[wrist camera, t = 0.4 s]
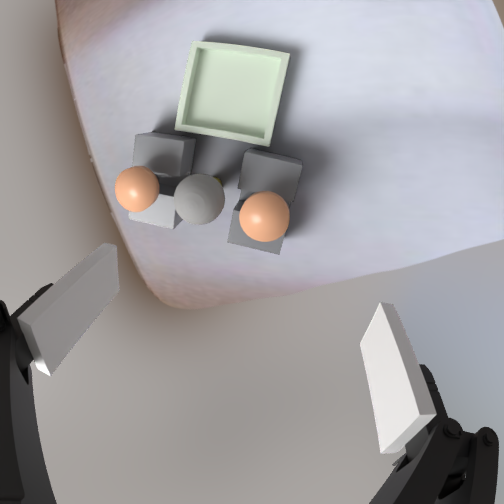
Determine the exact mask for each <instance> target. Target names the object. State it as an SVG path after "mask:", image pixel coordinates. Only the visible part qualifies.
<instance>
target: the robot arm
mask: <svg viewBox="0 0 504 504" xmlns="http://www.w3.org/2000/svg"><path fill="white" fill-rule="evenodd" d="M118 292H119V280H118V266H117V246H116V245H112V244H108V243H103V244H102V245H101V246H99V247H98V248H97V249H96V250H94V251H93V252H92V253H91V254H90V255H88V256H87V257H86V258H84V259H83V260H82V261H81V262H80V263H78V264H77V265H76V266H75V267H74V268H73V269H71V270H70V271H69V272H68V273H67V274H65V275H64V276H63V277H62V278H61V279H59V280H58V281H57V282H56V283H55V284H52V283H50V284H48V285H46V286H44V287H42V288H41V289H40V290H38V291H37V292H36V293H35V295H33V296H32V297H31V298H29V300H27V301H26V302H25V303H24V304H23V305H22V306H21V307H20V308H18V309H17V310H16V311H15V312H14V313H13V314H12V315H11V316H9V313H8V310H7V307H6V304H5V303H4V302H3V301H2V300H0V504H57V503H56V500H55V497H54V494H53V491H52V488H51V484H50V481H49V477H48V473H47V470H46V465H45V462H44V457H43V452H42V448H41V443H40V438H39V432H38V426H37V420H36V413H35V405H34V396H33V385H32V371H31V367H30V363H31V362H32V361H33V360H34V362H35V364H36V366H37V368H38V369H39V370H40V371H42V372H44V373H46V374H48V375H50V376H51V375H52V374H53V372H54V371H55V370H56V368H57V367H58V366H59V365H60V363H61V362H62V360H63V359H64V358H65V357H66V355H67V354H68V353H69V352H70V350H71V349H72V348H73V346H74V345H75V344H76V343H77V341H78V340H79V339H80V338H81V336H82V335H83V334H84V333H85V332H86V330H87V329H88V328H89V327H90V325H91V324H92V323H93V322H94V320H95V319H96V318H97V317H98V316H99V315H100V313H101V312H102V311H103V310H104V308H105V307H106V306H107V305H108V304H109V303H110V302H111V300H112V299H113V298H114V297H115V296H116V295H117V294H118ZM360 347H361V351H362V355H363V360H364V364H365V369H366V373H367V378H368V383H369V388H370V393H371V398H372V403H373V409H374V414H375V420H376V426H377V432H378V439H379V445H380V452H381V454H382V453H397V452H398V451H399V450H400V449H401V448H403V447H404V446H405V447H406V453H405V454H404V455H403V456H402V457H400V458H399V459H398V460H397V461H396V462H395V463H394V464H393V466H395V465H396V464H397V463H398V464H397V466H396V467H395V468H394V470H393V471H392V473H391V474H390V476H389V477H388V479H387V480H386V482H385V483H384V484H383V486H382V487H381V488H380V490H379V491H378V492H377V494H376V495H375V496H374V498H373V499H372V500H371V502H370V503H369V504H494V502H495V494H496V485H497V474H498V456H499V441H498V437H497V435H496V433H495V432H494V431H493V430H492V429H491V428H489V427H483V428H481V429H480V430H479V431H478V432H476V433H475V434H474V433H469V432H465V431H463V429H462V427H461V426H460V424H459V423H458V422H457V421H456V420H454V419H452V418H448V416H447V413H446V410H445V407H444V405H443V402H442V399H441V396H440V393H439V392H438V388H437V386H436V384H435V380H434V378H433V375H432V373H431V372H430V371H429V369H428V368H427V367H426V366H425V365H422V364H421V365H420V364H418V361H417V358H416V356H415V353H414V351H413V348H412V346H411V344H410V341H409V338H408V336H407V334H406V332H405V329H404V327H403V325H402V322H401V320H400V318H399V316H398V313H397V311H396V309H395V307H394V305H393V304H388V303H383V302H380V304H379V306H378V308H377V310H376V312H375V314H374V316H373V318H372V321H371V323H370V325H369V327H368V329H367V331H366V333H365V335H364V337H363V339H362V341H361V343H360ZM465 475H466V478H465Z"/></svg>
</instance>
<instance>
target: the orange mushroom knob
mask: <svg viewBox="0 0 504 504" xmlns="http://www.w3.org/2000/svg"><path fill="white" fill-rule="evenodd" d="M239 220H240V225H241V227H242V229H243V231H244V232H245V233H246V234H247V235H248V236H249V237H251V238H252V239H254V240H257V241H261V242H269V241H273V240H276V239H278V238H279V237H281V236H282V235H283V234H284V233H285V231H286V230H287V228H288V225H289V208H288V205H287V203H286V202H285V200H284V199H283V198H282V197H281V196H280V195H278V194H276V193H274V192H271V191H259V192H256V193H254V194H252V195H251V196H249V197H248V198H247V199H246V201H245V202H244V204H243V206H242V208H241V210H240V215H239Z"/></svg>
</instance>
